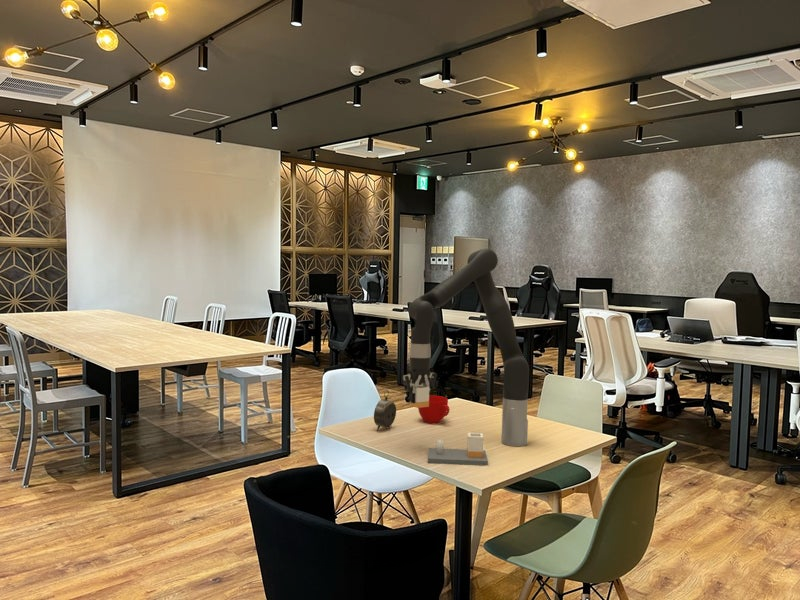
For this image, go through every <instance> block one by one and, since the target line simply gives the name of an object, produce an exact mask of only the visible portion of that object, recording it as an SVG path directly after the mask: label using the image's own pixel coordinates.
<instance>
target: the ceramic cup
mask: <svg viewBox="0 0 800 600" xmlns="http://www.w3.org/2000/svg"><path fill="white" fill-rule="evenodd" d="M448 404H449V399H448V398H447V397H445V396H440V395H429V407H421V408H417V409H418V413H419V415H420V418H422V420H423V421H424V422H425V423H426V422H427V424H432V423H435V424H440V422H441V421H442V420H443V419H444V418H445V417H447V416H448V415H449V413H450V407H449V405H448Z"/></svg>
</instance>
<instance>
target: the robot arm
mask: <svg viewBox="0 0 800 600" xmlns="http://www.w3.org/2000/svg"><path fill="white" fill-rule="evenodd" d="M497 266H498V255H497V254H496V252H495V251H494V250H492V249H491V248H481V249H479V250H476V251H474V252H472V253H471V254H470V255H469V256H468V258H467V264H466V265H465V266H464V267H463V268H461V269H459V270H458V271H456V272H454V274H452V275H450V276H449V277H447V278H445V279H444V280H442V281H441V282H440V283H438V284H436V286H434V287H433V288H432V289H431V290H430V291H429V292H426V293H424V294H422V295H421V296H419V297H418V298H416V299H414V300H413V301H412V302H411V303H410V304H409V306H408V314H409V316H410V318H411V319H412V320H413V319H414V320H415V324H414V325H415V326H414V327H412V328H411V331H410V347H409V373H408V374H403V375H402V383H403V387H404V391H406V392H408V394H409V402H410V401H411V403H415V391H416V388H417V387H418V385H423V386H426V387H429V393H430V392H431V390H434V389H435V386H436V381H437V377H438V374H437V373H436V372H431V369H430V368H431V360H432V359H431V355H432V354H431V353H432V352H431V351H432V349H431V331H432V330H431V329H432V327H433V323H434V318H435V309H436V308H439V307H442V306H444V305H445V304H446V303H448V302H449V301H450V300H452V299H453V298H454V297H455V296H456V295H458V294H459V293H460V292H461V291H463V290H464V289H465V288H466V287H468V286H469V285H470V284H472V283H474V284H475V286H476V289H477V291H478V294H479V298H480V301H481V304H482V306H483V311H484V314H485V317H486V319H487V322H488V323H487V324H488V325H489V328H490V330H491V333H492V334H493V337H494V339H495V341H496V344H498V348H499V351H500V355H501V359H502V364H503V365H502V366H503V388H502V411H501V412H502V413H501V414H502V415H501V417H502V418H501V444H503V445H505V446H506V445H507V446H510V447H523V446H528V431H529V429H528V427H529V421H528V403H529V402H528V397H529V385H530V384H529V383H530V365H529V364H528V361H527V359H526V358H525V356H524V354H523V352H522V349H521V348H520V344H519V342H518V338H517V334H516V329H515V327H516V326H515V322H514V319H513V315H512V312H511V308H510V306H509V304H508V302H507V300H506V298H505V297H504V295H503V294H502V293H501V292H500V291H499V289H498V288H497V286H496V284H495V282H494V280H493V276H492V271H494V270H495V269H496V267H497Z"/></svg>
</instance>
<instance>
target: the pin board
mask: <svg viewBox="0 0 800 600" xmlns="http://www.w3.org/2000/svg"><path fill="white" fill-rule="evenodd" d="M444 442H445V441H444V440H443V439H437V440H436V447H434V448H433V447H428V452H427V453H428V455H427V463H428V464H441V463H444V465H445V464H447V465H463V464H464V466H465V465H468V466H470V465H471V466H485V465H488V466H489V460H488V455H487V451H486V450H484V434H483V433H482V432H481V433H478V432H467V448H466V449H464V448H463V449H462V448H461V449H459V448H458V449H457V448H444Z"/></svg>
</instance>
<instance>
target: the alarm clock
mask: <svg viewBox="0 0 800 600" xmlns="http://www.w3.org/2000/svg"><path fill="white" fill-rule="evenodd" d="M386 392H387V396H386ZM389 392H390V391H389V390H388V389H385V390H384V393H383V394H384V395H383V396H384V398H382V399H380V400H379V401H378V402H377V404H376V405H375V408H374V412H373V421H374V424H375V426H377V429H376V431H377V432H378V431H379V429H380V428H386V429H387V428H388V430H389V431H390V430H391V426H392V425H393V423H394V422H395V419H396V416H397V407H396V406H397V405H396V403H395V401H392V400H389V399H388V397H389V394H390V393H389Z"/></svg>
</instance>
